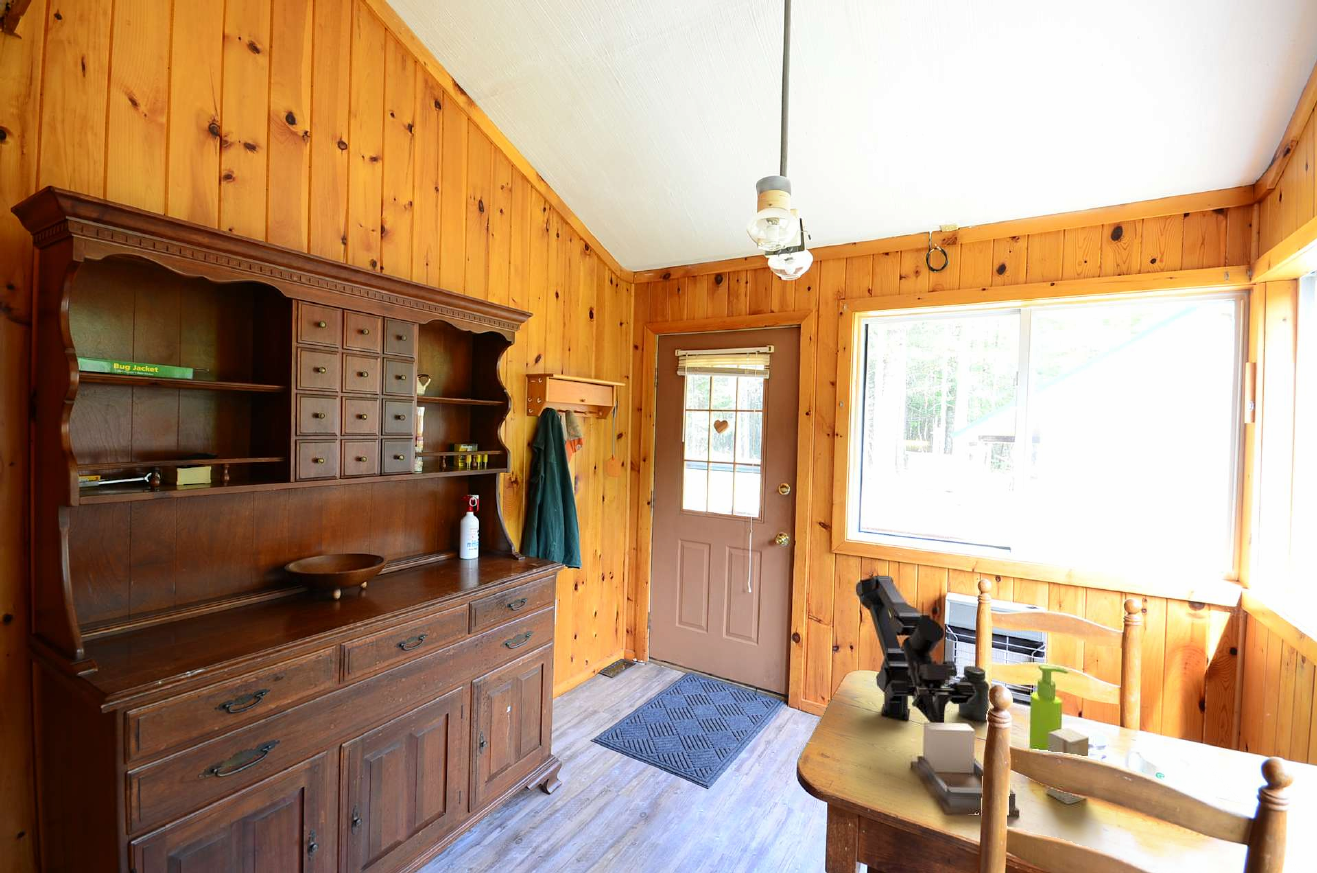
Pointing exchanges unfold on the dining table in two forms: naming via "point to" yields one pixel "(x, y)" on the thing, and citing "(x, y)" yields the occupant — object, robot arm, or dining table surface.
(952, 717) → the dining table surface
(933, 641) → the robot arm
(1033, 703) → the soap dispenser
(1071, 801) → the skincare box
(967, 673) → the supplement bottle
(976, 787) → the press base
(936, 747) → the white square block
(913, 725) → the dining table surface
